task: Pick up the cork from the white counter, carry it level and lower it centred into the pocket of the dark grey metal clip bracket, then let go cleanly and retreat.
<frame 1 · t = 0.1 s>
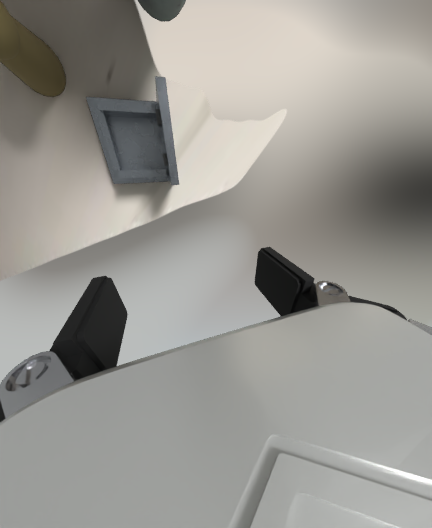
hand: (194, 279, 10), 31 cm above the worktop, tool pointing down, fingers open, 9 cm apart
clip bracket: (139, 146, 30), on the worktop
cork: (39, 67, 23), on the worktop
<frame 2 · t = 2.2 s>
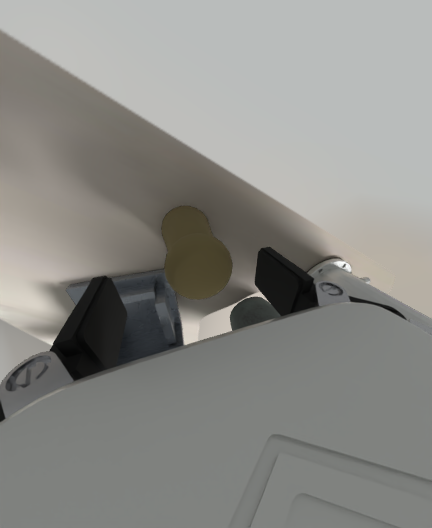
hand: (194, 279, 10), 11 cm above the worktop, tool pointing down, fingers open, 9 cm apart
clip bracket: (136, 308, 24), on the worktop
bottle: (248, 311, 32), on the worktop
cork: (186, 230, 20), on the worktop
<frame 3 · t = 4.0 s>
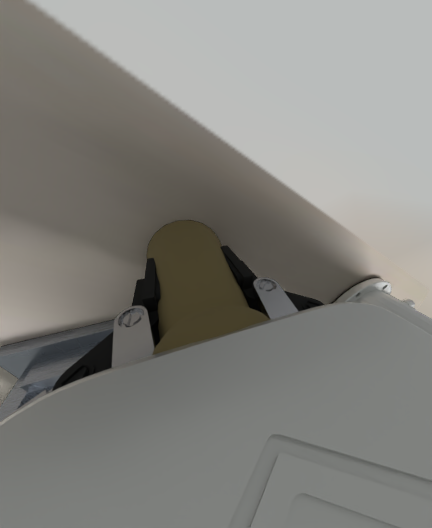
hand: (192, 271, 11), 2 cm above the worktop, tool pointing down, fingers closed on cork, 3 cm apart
clip bracket: (115, 362, 17), on the worktop
cork: (186, 255, 13), on the worktop, touching gripper
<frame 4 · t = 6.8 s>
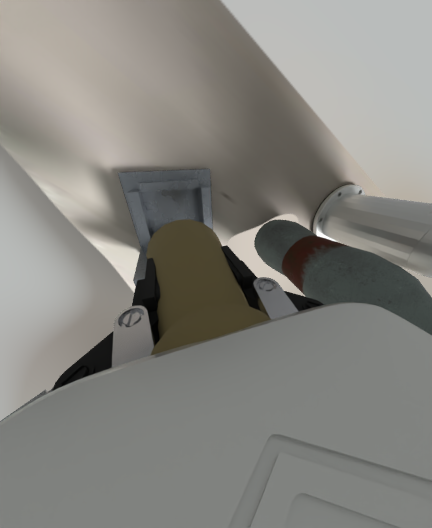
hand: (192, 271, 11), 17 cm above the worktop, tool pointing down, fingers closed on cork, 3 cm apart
clip bracket: (174, 214, 25), on the worktop
bottle: (270, 238, 33), on the worktop
cork: (186, 254, 13), point 15 cm above the worktop, touching gripper
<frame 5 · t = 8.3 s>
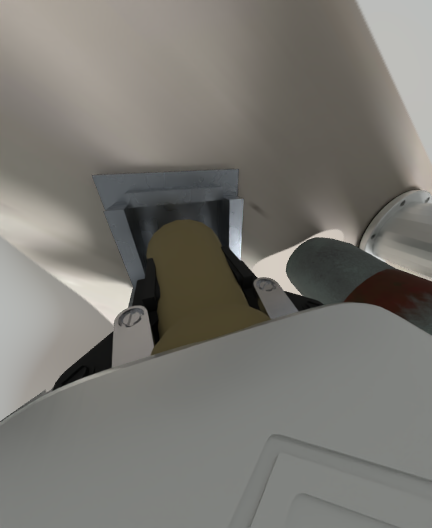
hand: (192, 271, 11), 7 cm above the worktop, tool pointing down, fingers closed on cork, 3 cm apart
clip bracket: (181, 235, 17), on the worktop
bottle: (306, 259, 25), on the worktop
cork: (185, 254, 13), point 5 cm above the worktop, touching gripper
when the fingers open (5 cm above the worktop, at t = 9.5 s): cork drops 2 cm, resting on clip bracket.
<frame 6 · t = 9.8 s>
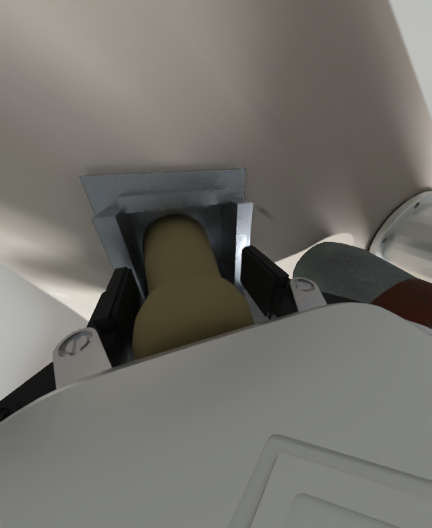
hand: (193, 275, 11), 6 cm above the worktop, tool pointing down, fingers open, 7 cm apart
clip bracket: (182, 241, 16), on the worktop
bottle: (314, 265, 24), on the worktop
cork: (177, 245, 15), point 1 cm above the worktop, touching clip bracket
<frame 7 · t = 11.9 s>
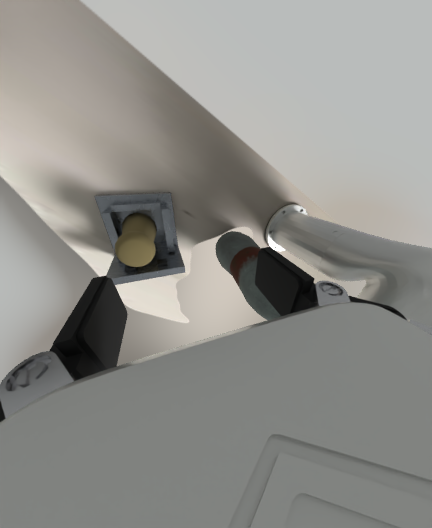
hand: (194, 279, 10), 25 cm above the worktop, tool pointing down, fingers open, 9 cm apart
clip bracket: (143, 226, 31), on the worktop
bottle: (230, 246, 40), on the worktop
cork: (140, 228, 30), point 1 cm above the worktop, touching clip bracket
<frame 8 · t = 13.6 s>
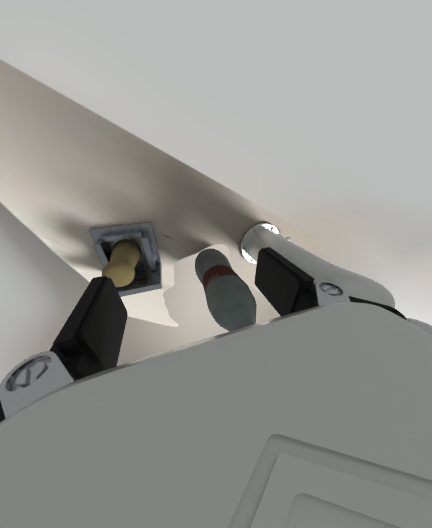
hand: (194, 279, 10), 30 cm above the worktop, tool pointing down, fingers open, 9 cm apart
clip bracket: (130, 249, 38), on the worktop
bottle: (208, 260, 46), on the worktop
cork: (127, 251, 37), point 1 cm above the worktop, touching clip bracket
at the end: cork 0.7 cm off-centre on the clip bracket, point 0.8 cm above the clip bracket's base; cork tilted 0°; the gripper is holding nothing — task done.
